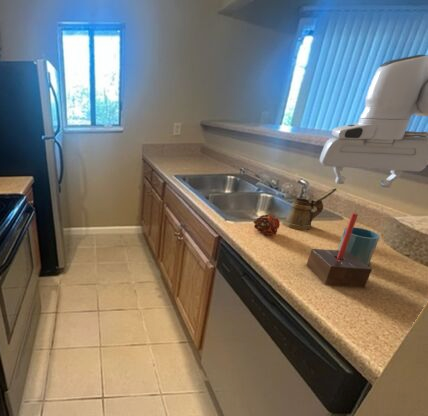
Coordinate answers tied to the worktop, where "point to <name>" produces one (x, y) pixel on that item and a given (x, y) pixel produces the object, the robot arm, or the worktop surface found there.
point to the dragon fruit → (267, 224)
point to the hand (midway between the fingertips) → (361, 184)
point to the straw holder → (338, 268)
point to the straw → (347, 236)
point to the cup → (361, 244)
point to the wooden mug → (305, 212)
